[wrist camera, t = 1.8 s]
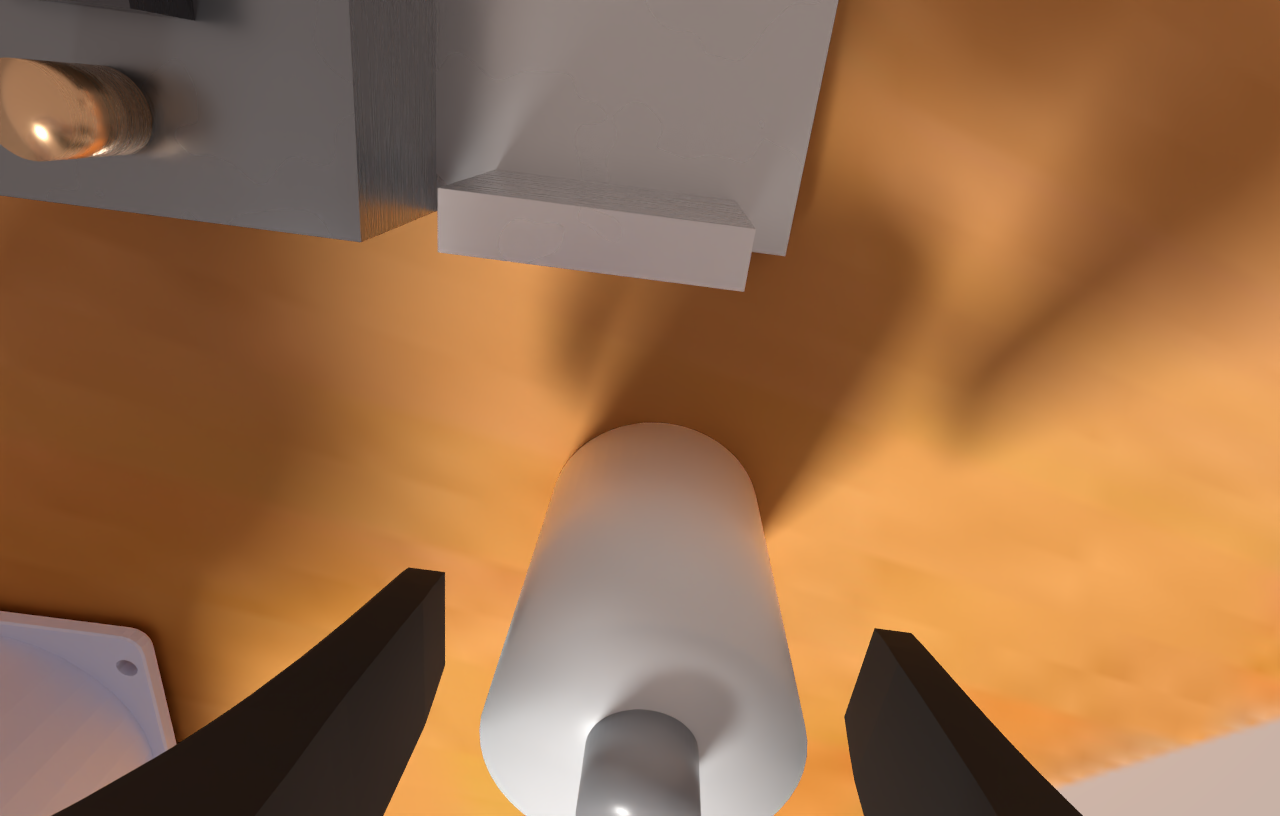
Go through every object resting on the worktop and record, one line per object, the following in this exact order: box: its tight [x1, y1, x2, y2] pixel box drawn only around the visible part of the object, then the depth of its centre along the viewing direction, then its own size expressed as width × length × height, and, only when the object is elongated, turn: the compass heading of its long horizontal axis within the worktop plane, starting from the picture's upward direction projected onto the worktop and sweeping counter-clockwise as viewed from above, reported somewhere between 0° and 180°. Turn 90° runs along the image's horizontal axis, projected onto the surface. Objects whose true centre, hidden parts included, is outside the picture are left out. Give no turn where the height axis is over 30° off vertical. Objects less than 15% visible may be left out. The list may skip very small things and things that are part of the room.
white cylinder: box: [480, 422, 807, 816], centre depth 12 cm, size 5×5×7 cm
